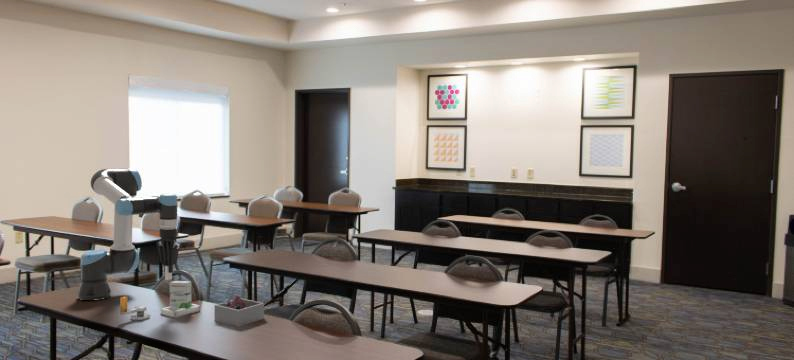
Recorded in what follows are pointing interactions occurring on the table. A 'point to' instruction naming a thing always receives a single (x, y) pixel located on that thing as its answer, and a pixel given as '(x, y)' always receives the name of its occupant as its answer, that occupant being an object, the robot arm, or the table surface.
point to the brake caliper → (235, 305)
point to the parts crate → (239, 313)
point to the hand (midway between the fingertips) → (168, 279)
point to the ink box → (180, 294)
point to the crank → (124, 307)
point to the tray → (179, 311)
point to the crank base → (140, 316)
